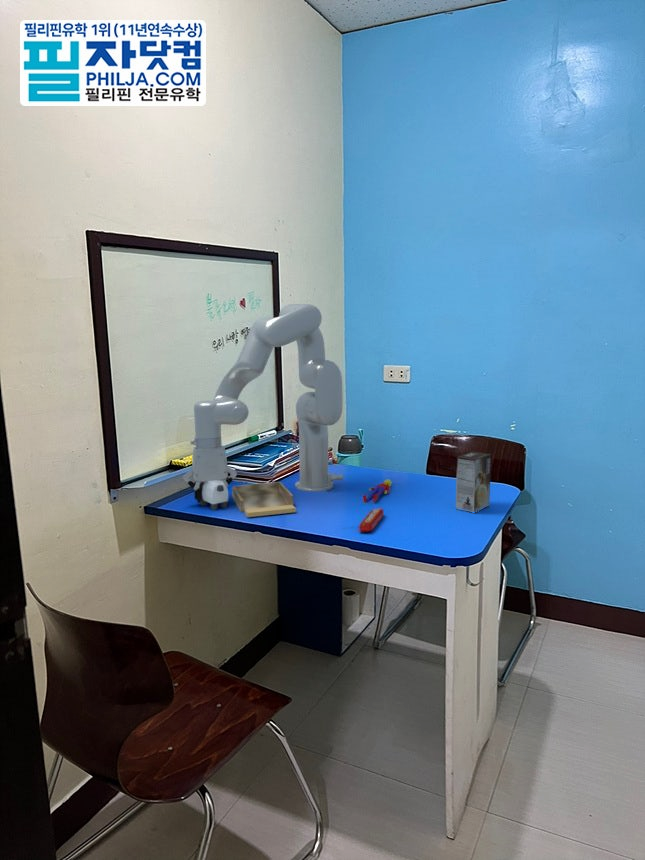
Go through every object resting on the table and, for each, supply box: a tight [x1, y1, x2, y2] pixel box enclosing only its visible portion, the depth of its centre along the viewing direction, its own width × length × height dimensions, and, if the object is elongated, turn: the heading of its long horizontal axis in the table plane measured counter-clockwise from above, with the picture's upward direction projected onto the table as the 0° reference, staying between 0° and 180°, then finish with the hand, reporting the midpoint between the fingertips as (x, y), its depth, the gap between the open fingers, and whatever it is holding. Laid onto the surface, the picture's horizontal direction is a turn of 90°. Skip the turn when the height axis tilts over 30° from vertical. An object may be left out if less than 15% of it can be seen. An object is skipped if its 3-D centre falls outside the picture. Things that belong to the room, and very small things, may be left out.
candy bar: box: [358, 507, 384, 533], centre depth 173 cm, size 16×4×3 cm, turn 161°
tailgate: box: [244, 504, 297, 518], centre depth 181 cm, size 14×1×4 cm
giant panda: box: [199, 480, 229, 511], centre depth 190 cm, size 15×6×10 cm, turn 40°
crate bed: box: [231, 481, 294, 513], centre depth 192 cm, size 16×16×4 cm
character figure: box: [362, 479, 392, 503], centre depth 200 cm, size 6×4×20 cm
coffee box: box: [455, 451, 492, 513], centre depth 184 cm, size 9×6×16 cm
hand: (211, 500), depth 190 cm, fingers closed on giant panda, 7 cm apart
